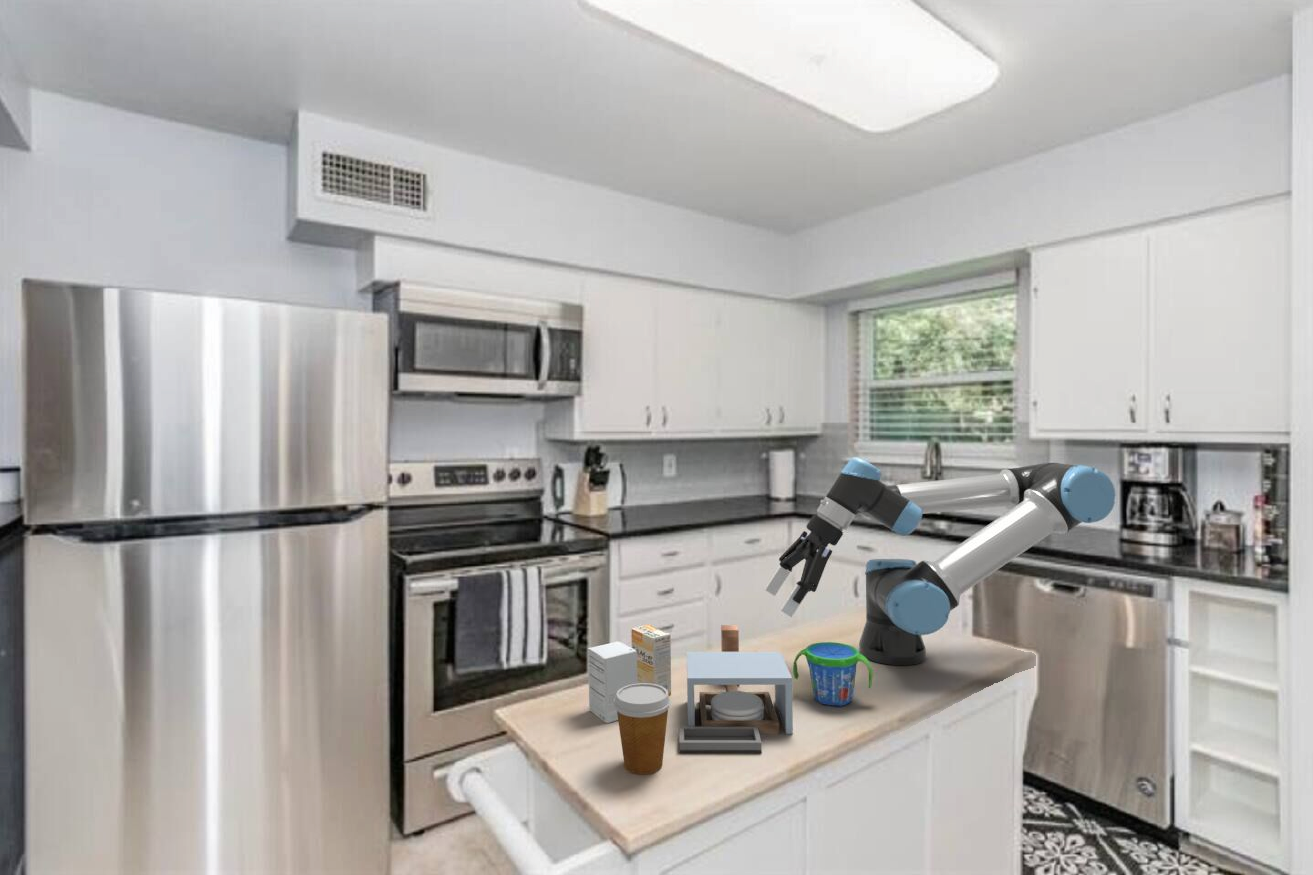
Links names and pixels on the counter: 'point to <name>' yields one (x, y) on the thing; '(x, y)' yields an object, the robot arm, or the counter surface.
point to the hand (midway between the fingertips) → (777, 602)
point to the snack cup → (832, 671)
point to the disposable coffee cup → (642, 725)
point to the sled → (732, 645)
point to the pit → (720, 740)
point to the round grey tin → (736, 707)
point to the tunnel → (741, 677)
